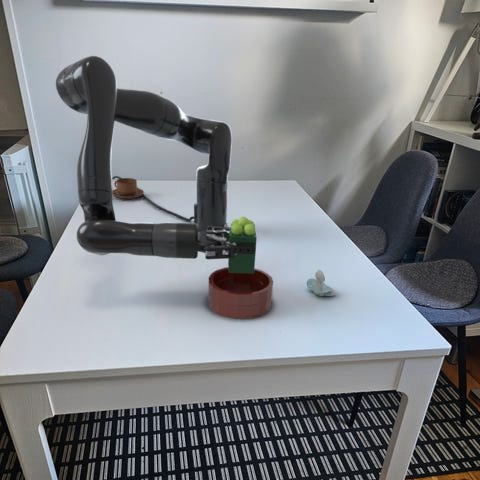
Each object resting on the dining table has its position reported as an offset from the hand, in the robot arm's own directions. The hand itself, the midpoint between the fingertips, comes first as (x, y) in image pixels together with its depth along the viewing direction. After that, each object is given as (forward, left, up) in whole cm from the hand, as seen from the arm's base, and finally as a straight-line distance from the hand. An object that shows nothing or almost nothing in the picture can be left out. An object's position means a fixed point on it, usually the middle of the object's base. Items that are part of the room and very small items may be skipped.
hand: (253, 243), depth 99 cm
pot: (-2, -1, -15) cm, 15 cm away
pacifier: (+12, +15, -15) cm, 24 cm away
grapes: (-2, -1, -6) cm, 6 cm away
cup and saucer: (-80, +48, -15) cm, 94 cm away
